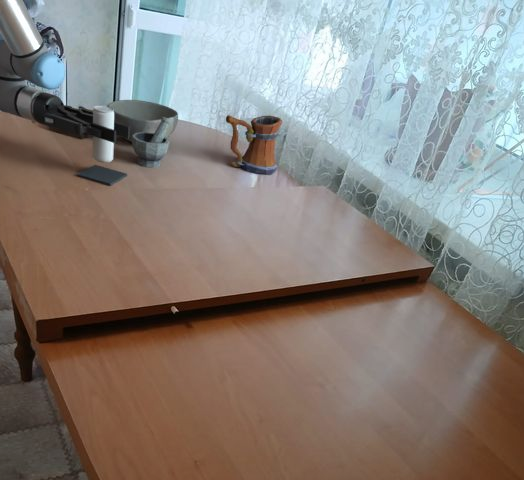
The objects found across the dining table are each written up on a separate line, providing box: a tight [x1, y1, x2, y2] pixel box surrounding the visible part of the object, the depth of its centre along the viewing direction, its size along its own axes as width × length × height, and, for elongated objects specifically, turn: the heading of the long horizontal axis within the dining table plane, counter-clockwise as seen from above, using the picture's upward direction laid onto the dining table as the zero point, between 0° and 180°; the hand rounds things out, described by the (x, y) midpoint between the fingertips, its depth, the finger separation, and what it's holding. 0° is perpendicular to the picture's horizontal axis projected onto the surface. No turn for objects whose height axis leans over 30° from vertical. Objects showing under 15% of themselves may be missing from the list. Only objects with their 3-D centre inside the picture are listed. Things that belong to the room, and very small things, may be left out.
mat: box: [76, 164, 128, 187], centre depth 137 cm, size 9×9×1 cm
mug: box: [225, 114, 283, 175], centre depth 159 cm, size 18×12×15 cm, turn 113°
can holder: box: [48, 127, 92, 140], centre depth 159 cm, size 10×10×3 cm
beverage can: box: [92, 105, 115, 164], centre depth 131 cm, size 5×5×12 cm
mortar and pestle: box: [131, 117, 171, 169], centre depth 147 cm, size 11×9×12 cm
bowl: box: [106, 99, 179, 143], centre depth 161 cm, size 20×20×10 cm
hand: (122, 134), depth 129 cm, fingers closed on beverage can, 5 cm apart
